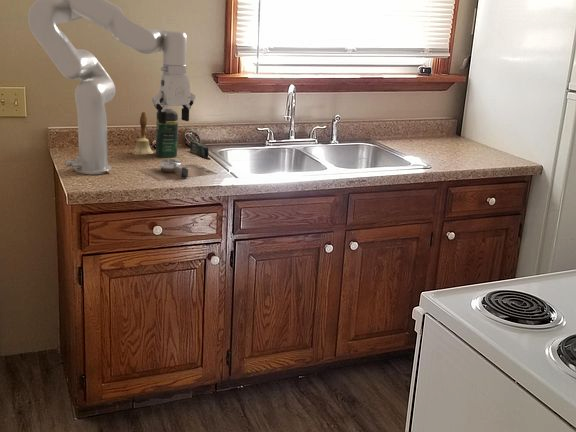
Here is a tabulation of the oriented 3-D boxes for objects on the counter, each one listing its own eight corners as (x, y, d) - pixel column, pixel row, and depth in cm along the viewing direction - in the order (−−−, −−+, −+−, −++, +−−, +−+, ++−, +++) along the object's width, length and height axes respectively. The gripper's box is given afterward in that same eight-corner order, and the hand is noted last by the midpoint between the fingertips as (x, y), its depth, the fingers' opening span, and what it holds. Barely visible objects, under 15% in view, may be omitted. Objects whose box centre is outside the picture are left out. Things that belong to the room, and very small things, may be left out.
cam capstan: (157, 168, 244) (157, 159, 243) (174, 166, 249) (175, 157, 248) (177, 178, 234) (177, 169, 233) (195, 176, 238) (195, 167, 237)
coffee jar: (178, 160, 263) (179, 112, 258) (157, 160, 261) (157, 111, 255) (175, 154, 272) (176, 107, 266) (155, 154, 270) (155, 106, 264)
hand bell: (140, 149, 276) (140, 109, 271) (157, 153, 273) (158, 112, 268) (127, 153, 269) (127, 112, 264) (145, 156, 266) (145, 115, 261)
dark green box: (188, 140, 278) (205, 147, 266) (195, 139, 279) (212, 147, 267) (188, 152, 279) (205, 160, 267) (195, 152, 281) (212, 159, 269)
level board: (158, 184, 232) (158, 180, 231) (138, 173, 243) (138, 169, 242) (217, 177, 245) (218, 173, 245) (196, 167, 256) (196, 163, 256)
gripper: (160, 72, 220) (160, 126, 225) (202, 70, 232) (200, 121, 237) (145, 69, 224) (145, 122, 230) (187, 67, 237) (186, 117, 242)
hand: (173, 121), depth 234 cm, fingers open, 9 cm apart
